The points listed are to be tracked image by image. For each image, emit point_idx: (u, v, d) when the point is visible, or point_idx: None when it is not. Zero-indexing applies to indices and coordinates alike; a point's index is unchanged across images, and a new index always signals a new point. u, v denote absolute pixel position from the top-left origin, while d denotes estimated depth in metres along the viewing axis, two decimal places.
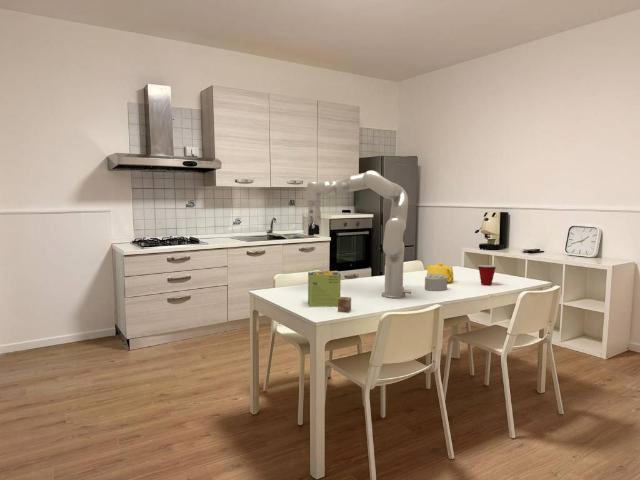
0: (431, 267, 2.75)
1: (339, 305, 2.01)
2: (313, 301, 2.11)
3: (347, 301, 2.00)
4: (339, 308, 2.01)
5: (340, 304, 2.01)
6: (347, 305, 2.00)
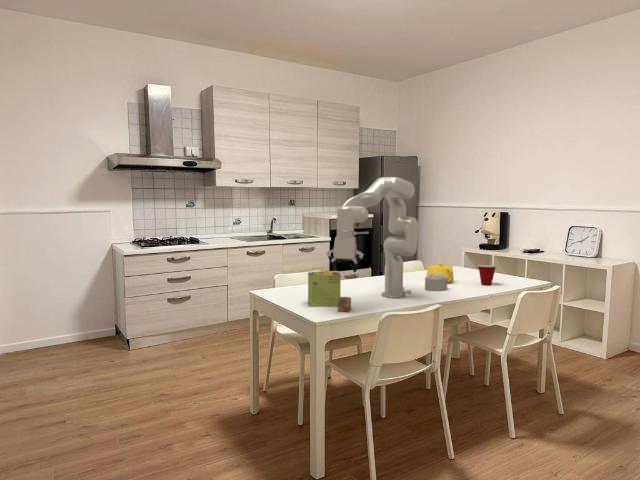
0: (431, 267, 2.75)
1: (339, 305, 2.01)
2: (313, 301, 2.11)
3: (347, 301, 2.00)
4: (339, 308, 2.01)
5: (340, 304, 2.01)
6: (347, 305, 2.00)
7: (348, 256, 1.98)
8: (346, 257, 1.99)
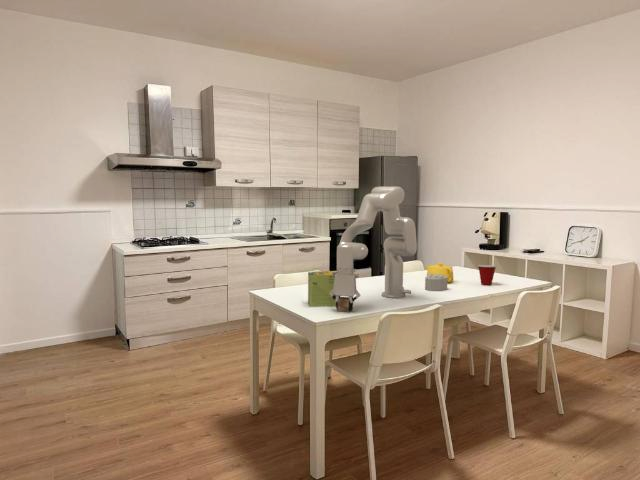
0: (431, 267, 2.75)
1: (339, 305, 2.01)
2: (313, 301, 2.11)
3: (347, 301, 2.00)
4: (339, 308, 2.01)
5: (340, 304, 2.01)
6: (347, 305, 2.00)
7: (348, 294, 2.00)
8: (346, 294, 2.00)
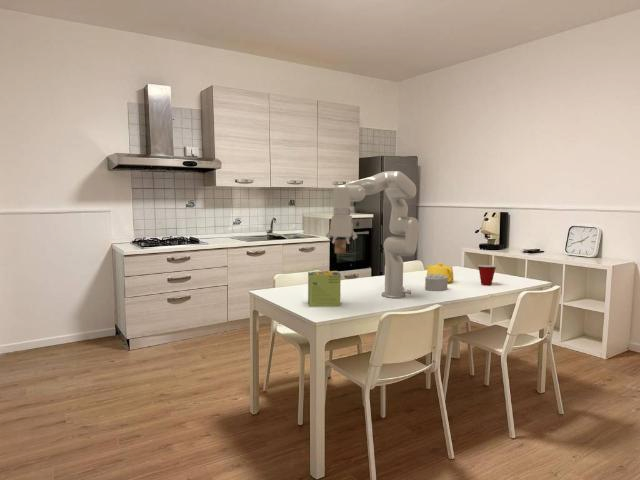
0: (431, 267, 2.75)
1: (336, 246, 2.01)
2: (313, 301, 2.11)
3: (344, 242, 2.00)
4: (336, 249, 2.01)
5: (337, 245, 2.01)
6: (344, 246, 2.00)
7: (345, 235, 2.00)
8: (343, 235, 2.00)
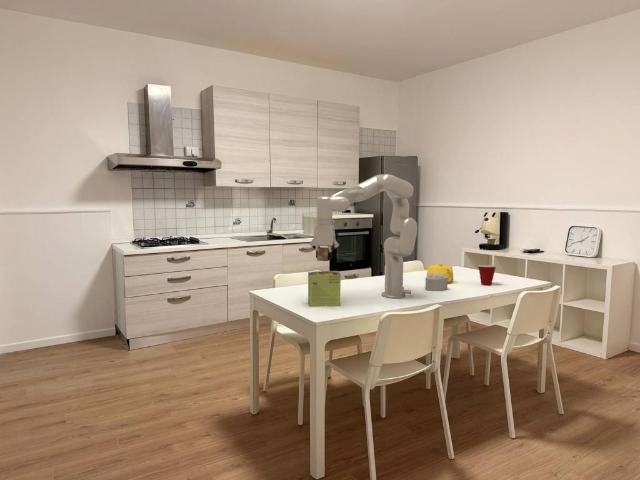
0: (431, 267, 2.75)
1: (319, 254, 2.12)
2: (313, 301, 2.11)
3: (326, 250, 2.11)
4: (319, 257, 2.13)
5: (320, 253, 2.12)
6: (326, 254, 2.11)
7: (327, 243, 2.11)
8: (325, 244, 2.12)
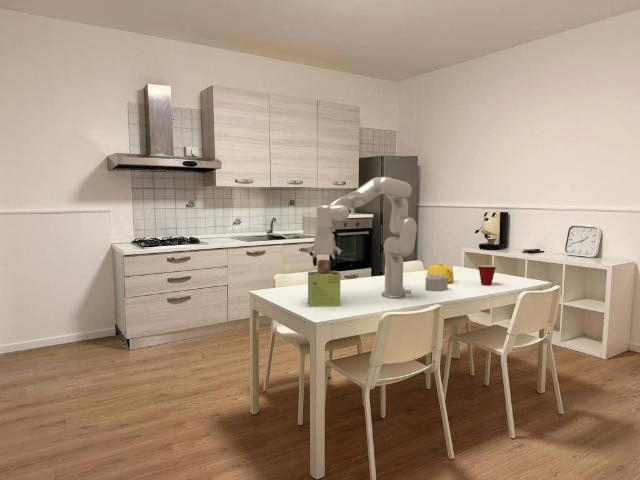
0: (431, 267, 2.75)
1: (319, 267, 2.13)
2: (313, 301, 2.11)
3: (326, 263, 2.12)
4: (319, 269, 2.13)
5: (320, 265, 2.13)
6: (326, 266, 2.12)
7: (327, 252, 2.12)
8: (325, 253, 2.12)
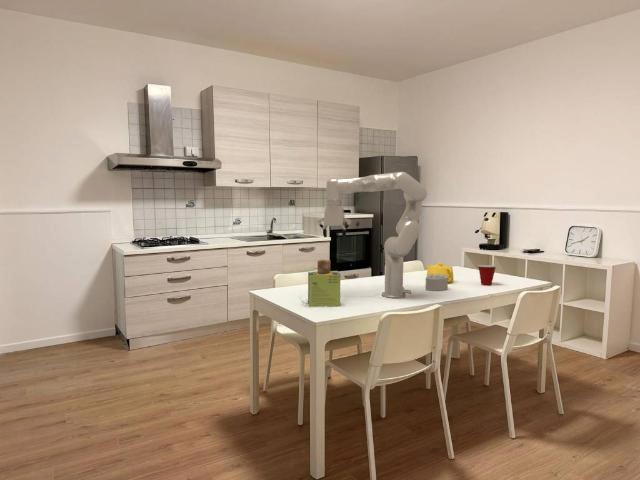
0: (431, 267, 2.75)
1: (319, 267, 2.13)
2: (313, 301, 2.11)
3: (326, 263, 2.12)
4: (319, 269, 2.13)
5: (320, 265, 2.13)
6: (326, 266, 2.12)
7: (337, 223, 2.22)
8: (335, 224, 2.23)
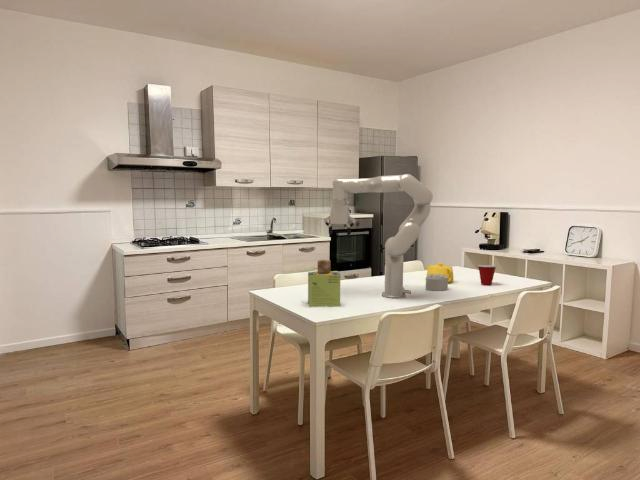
0: (431, 267, 2.75)
1: (319, 267, 2.13)
2: (313, 301, 2.11)
3: (326, 263, 2.12)
4: (319, 270, 2.13)
5: (320, 265, 2.13)
6: (326, 266, 2.12)
7: (343, 222, 2.30)
8: (341, 222, 2.30)
